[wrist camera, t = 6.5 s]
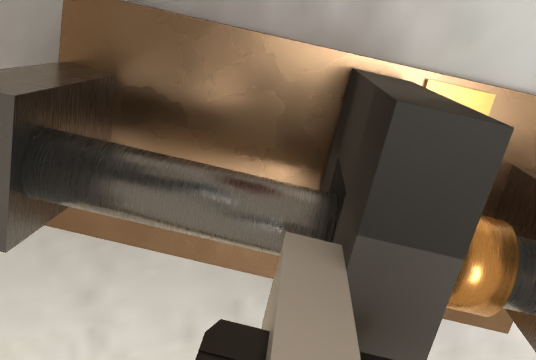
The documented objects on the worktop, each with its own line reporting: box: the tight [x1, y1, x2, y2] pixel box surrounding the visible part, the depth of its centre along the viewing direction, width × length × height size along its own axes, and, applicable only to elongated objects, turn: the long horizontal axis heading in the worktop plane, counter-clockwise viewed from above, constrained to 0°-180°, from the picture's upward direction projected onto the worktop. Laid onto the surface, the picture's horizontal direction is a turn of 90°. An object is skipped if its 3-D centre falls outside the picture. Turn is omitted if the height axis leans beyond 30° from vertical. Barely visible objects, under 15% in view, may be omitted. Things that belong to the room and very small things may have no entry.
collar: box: [320, 68, 514, 360], centre depth 16 cm, size 2×10×10 cm, turn 168°
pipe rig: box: [0, 0, 536, 352], centre depth 18 cm, size 23×11×9 cm, turn 78°
